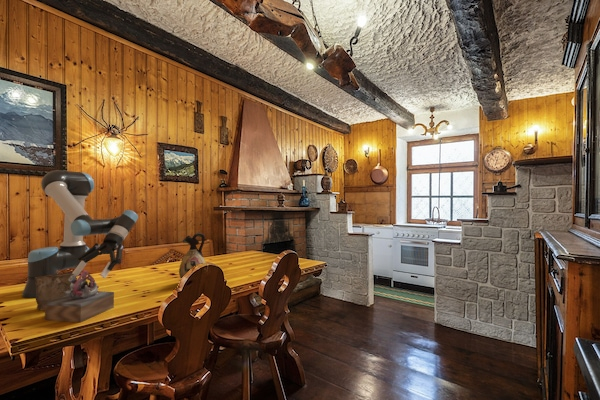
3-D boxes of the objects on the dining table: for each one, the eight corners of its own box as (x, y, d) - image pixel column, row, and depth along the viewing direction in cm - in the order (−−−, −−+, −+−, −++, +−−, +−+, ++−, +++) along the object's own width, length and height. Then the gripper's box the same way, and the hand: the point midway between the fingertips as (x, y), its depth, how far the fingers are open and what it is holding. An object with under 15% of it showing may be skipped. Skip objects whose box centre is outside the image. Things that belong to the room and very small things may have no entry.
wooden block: (44, 320, 116) (45, 302, 117) (81, 305, 133) (82, 290, 133) (80, 322, 114) (80, 304, 115) (113, 307, 131) (113, 291, 131)
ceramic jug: (179, 288, 162) (179, 234, 162) (178, 281, 176) (179, 232, 177) (210, 285, 169) (211, 233, 169) (208, 279, 183) (208, 231, 183)
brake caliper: (88, 295, 119) (72, 271, 119) (68, 310, 119) (51, 286, 120) (108, 287, 130) (93, 265, 131) (89, 301, 130) (75, 280, 131)
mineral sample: (80, 303, 136) (81, 271, 136) (78, 306, 132) (78, 273, 132) (35, 308, 130) (35, 274, 130) (30, 311, 126) (31, 276, 126)
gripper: (142, 242, 142) (119, 281, 127) (97, 241, 146) (68, 278, 131) (135, 232, 137) (109, 272, 122) (88, 231, 141) (57, 269, 126)
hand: (88, 275), depth 126 cm, fingers open, 13 cm apart
